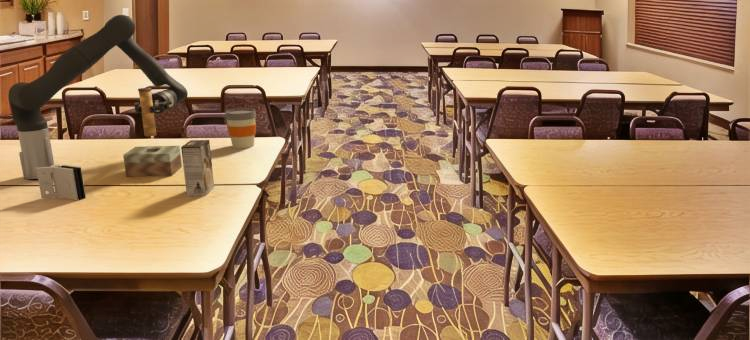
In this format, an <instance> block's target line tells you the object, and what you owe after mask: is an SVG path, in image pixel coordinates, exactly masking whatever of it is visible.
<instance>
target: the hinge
mask: <svg viewBox="0 0 750 340" xmlns="http://www.w3.org/2000/svg"><path fill="white" fill-rule="evenodd" d="M36 171H37V176H38V186H39V187H38V188H39V191H40V196H41V199H42V198H47V199H53V198H52V197H58V198H59V197H60V198H59V199H64V198H67V199H66V200H71V199H74V200H73V201H82V200H83V199H87V195H86V190H85V183H84V176H83V173H82V172H83V171H82V167H81V166H77V165H69V164H54V165H52V166H51V167H41V168H36ZM43 172H44V173H45V175H43V174H42V173H43ZM51 173H52V176H53V177H52V176H51ZM47 192H48V193H47ZM78 199H79V200H78Z"/></svg>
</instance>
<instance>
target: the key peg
mask: <svg viewBox="0 0 750 340" xmlns="http://www.w3.org/2000/svg"><path fill="white" fill-rule="evenodd" d="M137 92H138V95H139V103H140V104H141V118H142V126H143V132H144V133H143V134H144V137H155V136H157V129H156V128H157V127H156V120H155V113H150V107H151V106H153V102H152V94H153V93H152V87H141V88H138V89H137Z"/></svg>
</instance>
